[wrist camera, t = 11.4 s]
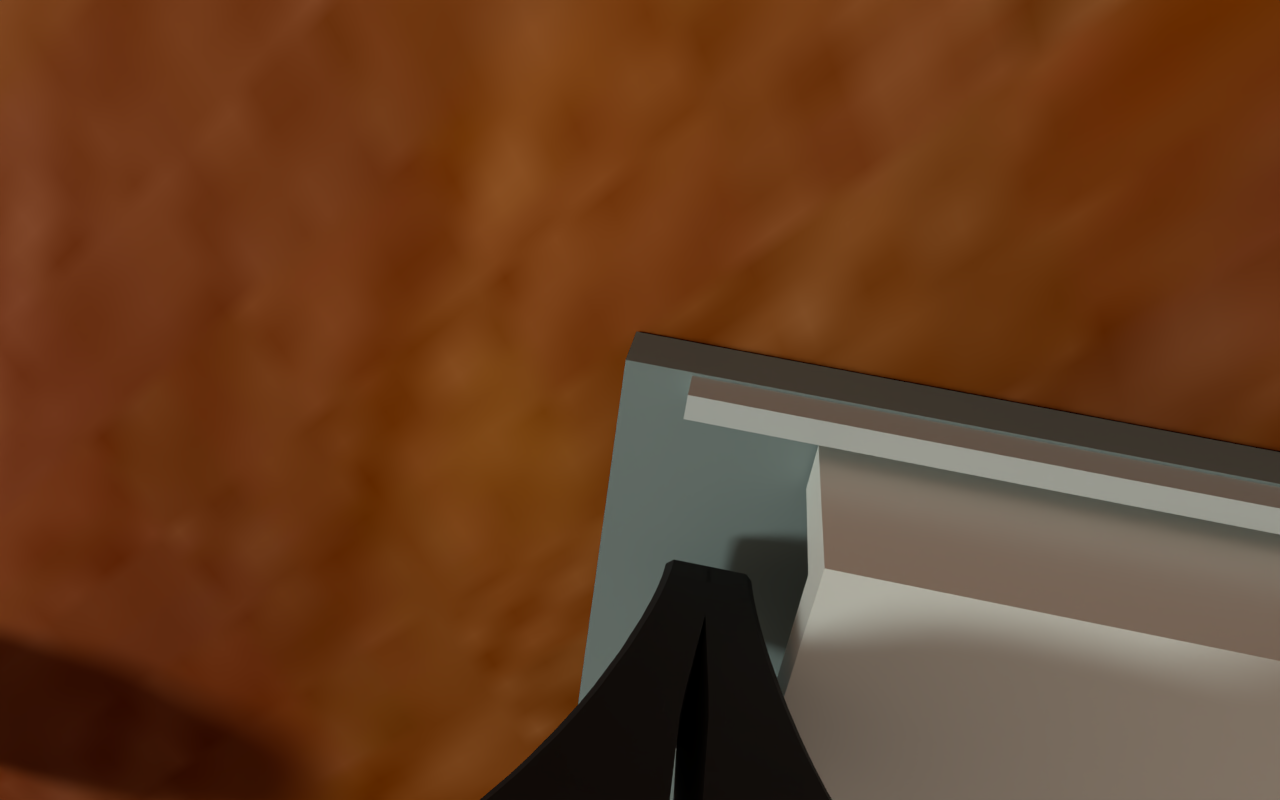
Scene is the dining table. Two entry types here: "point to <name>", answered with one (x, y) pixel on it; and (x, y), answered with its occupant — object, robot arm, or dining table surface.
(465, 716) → the dining table surface
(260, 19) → the dining table surface
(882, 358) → the dining table surface
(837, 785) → the cover
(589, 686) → the housing board
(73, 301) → the dining table surface
